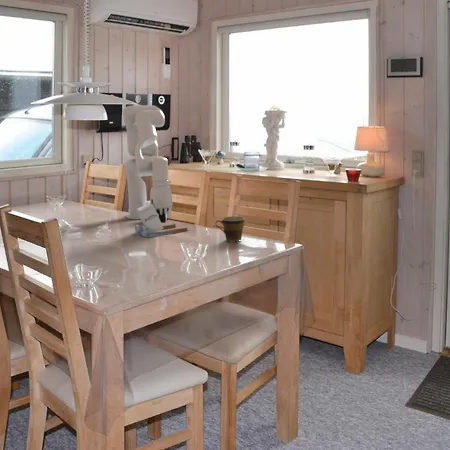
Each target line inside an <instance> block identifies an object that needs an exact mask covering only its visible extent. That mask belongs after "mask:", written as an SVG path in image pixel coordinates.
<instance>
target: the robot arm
mask: <svg viewBox="0 0 450 450" xmlns="http://www.w3.org/2000/svg"><path fill="white" fill-rule="evenodd" d="M122 119H123V121H124V122H123V123H124V126H125V128H126V144H127V153H128V155H130V156H132V157H134V158H130V159H128V160H127V161H126V162H125V165H124V166H125V167H124V168H125V173H126V180H127V190H128V191H127V192H128V193H127V194H128V209H127V212H128V214H127V215H126V218H127V219H129V220H141V217H140V215H139V213H138V211H137V209H138V208H140V207H142V206H144V205H146V202H147V201H148V200H147V184H146V182H145V181H144V180H143V178H142V177H149V176H150V177H151V176H152V187H151V188H150V193H149V201H150V204H153V205H154V208H156V209H155V210H156V212H157V214H159V219H160V221H161V224H165V223H166V222H167V220H166V214H167V211H168V210H170V209H171V210H172V209H173V196H172V190H171V186H170V184H171V183H172V181H171V180H169V160H168V159H167V158H166V157H164V156H161V155H160V156H159V146H158V141H157V140H158V134H157V130H156V128H161V127H163V126H164V125H165V122H166V120H165V119H166V118H165V114H164V113H163V111H162V109H160V108H159V107H158V106H156V105H151V104H150V105H149V104H147V105H145V104H144V105H128V106H125V107H124V108H123V111H122Z"/></svg>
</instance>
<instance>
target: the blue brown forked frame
mask: <svg viewBox="0 0 450 450" xmlns="http://www.w3.org/2000/svg"><path fill="white" fill-rule="evenodd" d="M162 226H163V229H162V230H160V231H157V232H154V233H149V230H148V228H145V226H141V225H138V224H134V233H135V234H137V235H138V236H139V235H140V236H142V237H145V238H151V237H158V236H163V235H169V234H170V235H171V234H175V233H181V232H183V233H184V232H188V231H189V230H188V227H186V226H185V227H180V228H176V226H177V225H176V223H174V224H167V225H166V224H165V225H162ZM173 228H174V229H173Z"/></svg>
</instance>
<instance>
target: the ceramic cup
mask: <svg viewBox="0 0 450 450" xmlns="http://www.w3.org/2000/svg"><path fill="white" fill-rule="evenodd" d="M218 222H219V223H221V224H222V226H223V229H222V227H220V226H219V225H217V223H218ZM215 226H216V227H217V228H219V229H220V231H222V232H223V233H224V236H225V238H226V239H225V240H226V242H228V241H239V240H241V241H242V237H243V230H244V227H245V217H242V216H225V217H223V218H221V219H218V220H216V221H215ZM239 242H240V241H239Z"/></svg>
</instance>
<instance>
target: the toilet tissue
mask: <svg viewBox="0 0 450 450" xmlns="http://www.w3.org/2000/svg"><path fill="white" fill-rule="evenodd" d="M149 203H150V200H147V202H146V204H149ZM155 209H156V208H155ZM157 215H158V217H159V214H157ZM167 219H172V209H170V210H168V211H167V214H166V221H167Z"/></svg>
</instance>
